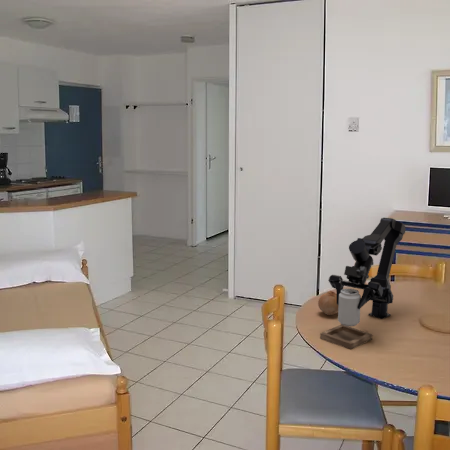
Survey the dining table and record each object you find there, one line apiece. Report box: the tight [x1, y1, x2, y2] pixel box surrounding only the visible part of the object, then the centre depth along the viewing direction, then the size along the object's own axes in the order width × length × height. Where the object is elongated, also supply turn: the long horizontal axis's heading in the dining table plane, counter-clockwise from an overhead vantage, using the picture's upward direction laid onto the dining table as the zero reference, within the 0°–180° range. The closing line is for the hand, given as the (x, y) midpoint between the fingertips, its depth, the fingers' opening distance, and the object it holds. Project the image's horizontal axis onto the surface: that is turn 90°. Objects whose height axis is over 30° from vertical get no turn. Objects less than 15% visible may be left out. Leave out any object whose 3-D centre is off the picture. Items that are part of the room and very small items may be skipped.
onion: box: [317, 290, 339, 316], centre depth 217 cm, size 10×9×10 cm
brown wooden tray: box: [319, 323, 373, 350], centre depth 194 cm, size 13×13×2 cm
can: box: [337, 288, 362, 327], centre depth 191 cm, size 8×8×12 cm
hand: (347, 306), depth 190 cm, fingers closed on can, 7 cm apart
